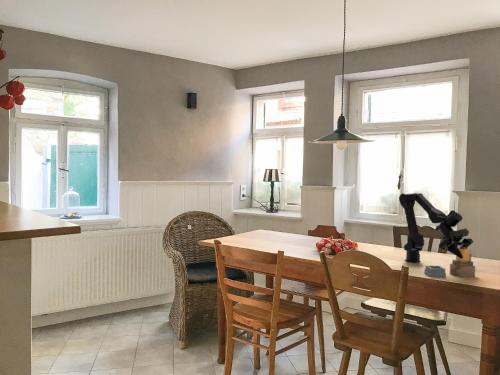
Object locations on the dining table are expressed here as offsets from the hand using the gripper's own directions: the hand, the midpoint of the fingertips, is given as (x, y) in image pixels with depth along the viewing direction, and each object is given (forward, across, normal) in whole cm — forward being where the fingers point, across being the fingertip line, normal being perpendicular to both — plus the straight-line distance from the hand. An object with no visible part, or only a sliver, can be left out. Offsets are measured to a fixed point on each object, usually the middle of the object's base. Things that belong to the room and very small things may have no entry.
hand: (465, 257), depth 218 cm
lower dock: (+3, -15, +10) cm, 18 cm away
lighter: (-5, +18, +18) cm, 26 cm away
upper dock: (+5, 0, +7) cm, 9 cm away
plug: (+2, 0, +4) cm, 4 cm away
